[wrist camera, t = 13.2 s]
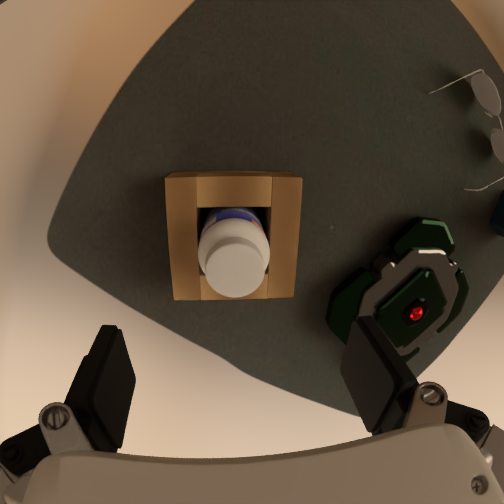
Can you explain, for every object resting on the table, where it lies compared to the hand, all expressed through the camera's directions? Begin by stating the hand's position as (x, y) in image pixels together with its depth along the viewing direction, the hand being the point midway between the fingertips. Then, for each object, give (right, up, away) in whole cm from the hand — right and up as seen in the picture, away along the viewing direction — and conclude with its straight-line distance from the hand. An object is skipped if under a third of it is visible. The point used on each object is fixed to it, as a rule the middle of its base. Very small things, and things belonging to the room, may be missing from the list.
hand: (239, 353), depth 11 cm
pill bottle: (-1, +6, +17) cm, 19 cm away
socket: (-1, +6, +17) cm, 18 cm away
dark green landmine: (+19, -2, +23) cm, 30 cm away
